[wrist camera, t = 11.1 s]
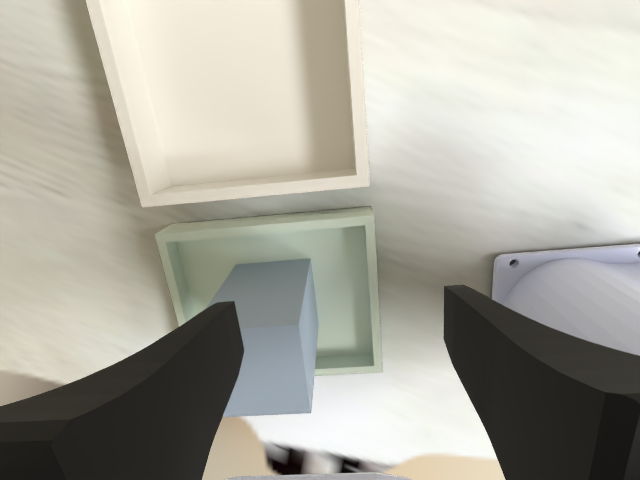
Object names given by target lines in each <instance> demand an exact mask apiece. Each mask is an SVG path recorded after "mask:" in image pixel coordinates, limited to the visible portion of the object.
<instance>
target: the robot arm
mask: <svg viewBox="0 0 640 480" xmlns="http://www.w3.org/2000/svg"><path fill="white" fill-rule="evenodd" d="M639 252H640V244H628V245H615V246H602V247H589V248H576V249H562V250H549V251H536V252H523V253H510V254H501V255H499V256H497V257H496V259H495V261H494V270H493V286H492V299H490V298H489V297H487V296H485V295H483V294H481V293H479V292H477V291H475V290H474V289H472V288H469V287H467V286H465V285H454V286H444V341H445V344H446V347H447V350H448V353H449V356H450V358H451V361H452V364H453V366H454V368H455V370H456V372H457V374H458V376H459V378H460V380H461V382H462V384H463V386H464V388H465V390H466V392H467V394H468V396H469V398H470V400H471V402H472V404H473V406H474V407H475V409H476V411H477V413H478V415H479V417H480V419H481V421H482V423H483V425H484V427H485V429H486V432H487V434H488V436H489V438H490V441H491V443H492V446H493V448H494V451H495V453H496V456H497V459H498V461H499V463H500V466H501V469H502V471H503V474H504V477H505V479H506V480H640V254H639V255H638V253H639ZM514 259H516V261H515V263H514V264H513V265H510V262H511V261H512V260H514ZM243 355H244V346H243V341H242V336H241V331H240V326H239V321H238V316H237V311H236V306H235V301H227V302H217V303H215V304H213V305H211V306H210V307H208V308H206V309H205V310H203V311H202V312H200V313H199V314H197V315H196V316H194V317H193V318H191V319H190V320H188V321H187V322H185V323H184V324H182V325H181V326H180V327H178V328H177V329H175V330H174V331H172V332H170V333H169V334H167V335H165V336H164V337H162V338H161V339H159V340H157V341H156V342H154V343H153V344H151V345H149V346H148V347H146V348H144V349H142V350H141V351H139V352H137V353H135V354H133V355H131V356H129V357H128V358H126V359H124V360H122V361H120V362H118V363H116V364H114V365H112V366H109V367H107V368H105V369H102V370H100V371H98V372H96V373H93V374H91V375H89V376H87V377H84V378H82V379H80V380H77V381H75V382H72V383H69V384H67V385H64V386H62V387H59V388H56V389H53V390H51V391H48V392H45V393H42V394H39V395H36V396H33V397H30V398H27V399H24V400H20V401H17V402H14V403H10V404H7V405H4V406H0V480H202V477H203V473H204V469H205V466H206V462H207V459H208V455H209V452H210V448H211V446H212V442H213V440H214V437H215V434H216V432H217V429H218V427H219V424H220V422H221V419H222V417H223V414H224V412H225V409H226V407H227V404H228V402H229V399H230V397H231V394H232V391H233V389H234V386H235V384H236V381H237V378H238V376H239V372H240V368H241V364H242V359H243ZM224 480H411V479H409V478H407V477H402V476H396V475H390V474H384V473H377V472H370V473H338V474H307V475H275V476H247V477H246V476H245V477H232V478H228V479H224Z"/></svg>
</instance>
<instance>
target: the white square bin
mask: <svg viewBox="0 0 640 480" xmlns="http://www.w3.org/2000/svg"><path fill="white" fill-rule="evenodd" d="M85 1H86V4H87V8H88V12H89V15H90V19H91V23H92V26H93V30H94V34H95V37H96V41H97V45H98V48H99V52H100V56H101V59H102V63H103V67H104V70H105V74H106V78H107V81H108V85H109V89H110V92H111V96H112V100H113V103H114V107H115V111H116V114H117V118H118V122H119V125H120V129H121V133H122V136H123V140H124V144H125V147H126V151H127V155H128V158H129V162H130V166H131V169H132V173H133V177H134V180H135V184H136V188H137V191H138V195H139V199H140V202H141V206H142V208H143V207H154V206H164V205H175V204H186V203H197V202H207V201H218V200H229V199H240V198H250V197H261V196H272V195H283V194H293V193H304V192H315V191H326V190H336V189H347V188H358V187H369V186H370V178H369V160H368V143H367V125H366V107H365V90H364V72H363V55H362V37H361V20H360V2H359V0H85Z"/></svg>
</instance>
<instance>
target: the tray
mask: <svg viewBox="0 0 640 480" xmlns="http://www.w3.org/2000/svg"><path fill="white" fill-rule="evenodd" d="M154 235H155V239H156V243H157V246H158V250H159V254H160V258H161V261H162V265H163V269H164V272H165V276H166V280H167V284H168V287H169V291H170V295H171V299H172V302H173V306H174V310H175V314H176V317H177V321H178V325H179V327H180V326H181V325H182V324H184V323H185V322H187V321H188V320H190V319H191V318H193V317H194V316H196V315H197V314H199V313H200V312H202V311H203V310H205V309H206V307H207V306H208V304H209V303H210V301H211V300H212V299H213V297H214V296H215V294H216V293H217V291H218V290H219V288H220V287H221V285H222V284H223V283H224V281H225V280H226V278H227V277H228V275H229V274H230V272H231V271H232V269H233V268H234V267H235V265H236V264H248V263H261V262H273V261H286V260H299V259H311V265H312V273H313V281H314V290H315V298H316V306H317V314H318V323H319V328H318V339H317V351H316V362H315V374H314V376H323V375H342V374H361V373H380V372H383V366H382V348H381V329H380V311H379V293H378V274H377V256H376V237H375V219H374V213H373V211H372V208H371V206H369V207H358V208H346V209H335V210H324V211H313V212H301V213H290V214H279V215H267V216H256V217H245V218H234V219H222V220H211V221H200V222H189V223H177V224H170V225H168V226H167V227H165V228H164V229H162V230H161V231H159V232H157V233H156V234H154Z"/></svg>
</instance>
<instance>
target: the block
mask: <svg viewBox="0 0 640 480" xmlns="http://www.w3.org/2000/svg"><path fill="white" fill-rule="evenodd" d="M227 301H235V306H236V311H237V316H238V321H239V326H240V331H241V336H242V341H243V346H244V355H243V359H242V364H241V368H240V372H239V376H238V378H237V381H236V384H235V386H234V389H233V391H232V394H231V397H230V399H229V402H228V404H227V407H226V409H225V412H224V414H223V417H235V416H257V415H278V414H300V413H311V408H312V397H313V385H314V374H315V362H316V351H317V339H318V328H319V323H318V314H317V306H316V298H315V290H314V281H313V273H312V265H311V259H299V260H286V261H273V262H261V263H248V264H236V265H235V267H234V268H233V269H232V271H231V272H230V274H229V275H228V277H227V278H226V280H225V281H224V283H223V284H222V285H221V287H220V288H219V290H218V291H217V293H216V294H215V296H214V297H213V299H212V300H211V301H210V303H209V304H208V306H207V307H206V308H208V307H210V306H211V305H213V304H215V303H217V302H227Z"/></svg>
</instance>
